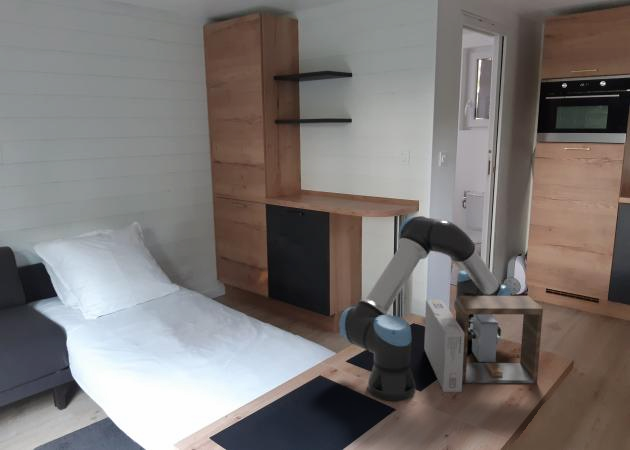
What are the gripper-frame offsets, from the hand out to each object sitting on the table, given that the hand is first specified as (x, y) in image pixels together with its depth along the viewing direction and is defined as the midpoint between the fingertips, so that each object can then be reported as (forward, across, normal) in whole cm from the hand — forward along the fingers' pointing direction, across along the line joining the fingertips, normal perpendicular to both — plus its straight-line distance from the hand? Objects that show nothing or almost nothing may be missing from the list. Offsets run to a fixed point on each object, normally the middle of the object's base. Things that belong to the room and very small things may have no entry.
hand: (488, 340), depth 173 cm
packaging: (+3, +17, -9) cm, 20 cm away
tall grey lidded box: (-5, 0, -8) cm, 10 cm away
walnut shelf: (+7, 0, -9) cm, 11 cm away
